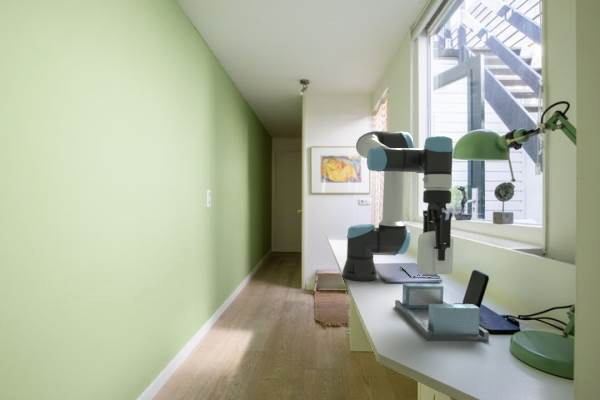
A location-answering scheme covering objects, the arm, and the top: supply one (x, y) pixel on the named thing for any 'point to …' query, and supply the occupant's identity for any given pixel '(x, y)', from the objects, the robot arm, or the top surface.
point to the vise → (446, 321)
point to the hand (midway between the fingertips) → (434, 269)
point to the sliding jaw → (422, 295)
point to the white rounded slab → (432, 254)
